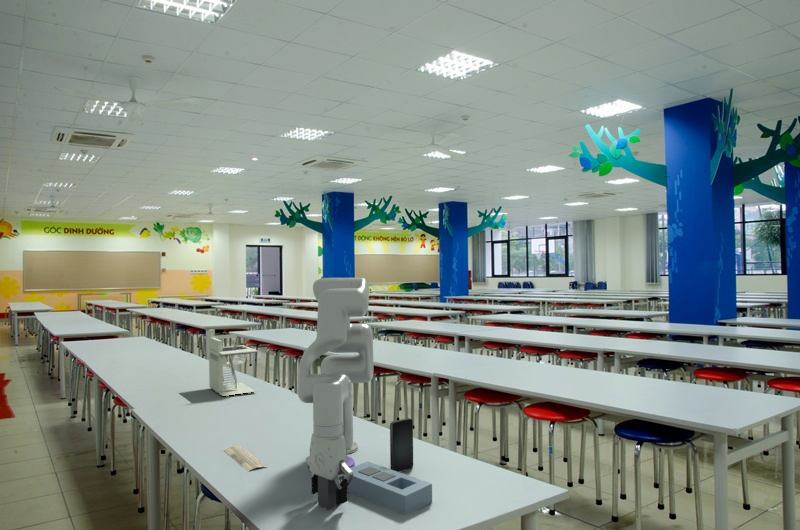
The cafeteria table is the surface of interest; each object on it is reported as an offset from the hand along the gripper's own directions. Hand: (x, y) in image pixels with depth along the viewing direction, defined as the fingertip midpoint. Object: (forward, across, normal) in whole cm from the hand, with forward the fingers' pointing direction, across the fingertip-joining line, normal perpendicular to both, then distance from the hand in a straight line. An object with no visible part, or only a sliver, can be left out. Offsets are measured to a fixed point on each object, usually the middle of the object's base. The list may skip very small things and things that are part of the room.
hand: (329, 497), depth 134 cm
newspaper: (+3, -47, +3) cm, 47 cm away
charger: (+2, 0, 0) cm, 2 cm away
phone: (+3, -3, +30) cm, 30 cm away
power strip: (+2, +6, +14) cm, 15 cm away
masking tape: (+3, -16, +15) cm, 22 cm away
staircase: (+2, -144, +54) cm, 153 cm away
